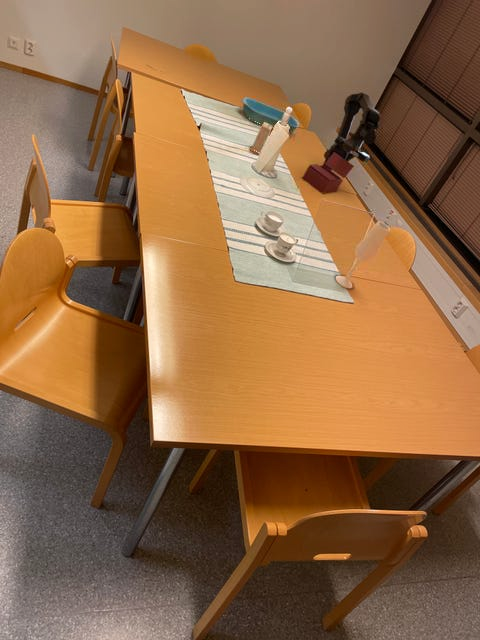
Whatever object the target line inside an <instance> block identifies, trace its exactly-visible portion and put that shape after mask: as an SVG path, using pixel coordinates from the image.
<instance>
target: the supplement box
mask: <svg viewBox="0 0 480 640" xmlns="http://www.w3.org/2000/svg"><path fill="white" fill-rule="evenodd" d="M272 127H273V126H272V125H270V124H268V123H266V122H264V123H263V124H262V125H260V129H259V131H258V133H257V135H256V136H255V137H256V138H255V140H254V142H253V144H252V146H251V148H250V152H252V153H254V154H256V155H260V154H261V151H262V150H263V148H264V146H265V144H266V142H267V140H268V138H269V136H270V133H271V131H272V130H273V129H272ZM254 150H255V151H254ZM256 151H257V152H256ZM258 152H260V153H258Z"/></svg>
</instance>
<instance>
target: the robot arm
mask: <svg viewBox="0 0 480 640" xmlns="http://www.w3.org/2000/svg"><path fill="white" fill-rule="evenodd" d="M343 110H344V111H343V112H344V116H343V118H342V122H341V125H340V128H339V130H338V134H337V137H336V138H335V139H334V142H333V144H331V146H330V148H328V149H327V150H326V151H325V152H324V153H323V157H324V159H325V160H324V162H323V163H322V165H324V166H325V167H327V168H328V169H329V170H331V171H332V172H333V170H332V169H330V168H329V167H328V166H326V165H325V163H326V162H327V160H328V159H329V158H330V156H331V155H332V154H333V153H334V152H335V153H337V154H338V155H339V156H341V157H342V158H344V159H345V160H346V161H348V162H349V161H351V160H352V159H354V158H357V159H358V160H359V161H361V162H363V163H367V162H369V160H370V155H369V154H367V153H366V152H365V151H363V152H361V151H360V149H361V147H362V144H365V145H372V144H373V143H375V141H376V139H377V136H376V132H377V131H378V128H379V124H380V120H381V113H380V112H379V111H378V110H377V109H376V108H374V106H373V104H372V102H371V99H370V96H369V95H368V94H367V93H364V92H359V93H352V94H350V95H348V96H347V97H346V98H345V100H344V106H343ZM361 110H362V113H361V119H360V120H359V125H358V126H357V128H356V130H355V131H354V133H353V134H352V135H351V137H350V138H348V136H349V133H350V130H351V127H352V124H353V121H354V119H355V116H356V115H357V114H358V113H360V111H361ZM349 163H350V162H349Z"/></svg>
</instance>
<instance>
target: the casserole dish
mask: <svg viewBox="0 0 480 640" xmlns="http://www.w3.org/2000/svg"><path fill="white" fill-rule="evenodd" d="M241 102H242V104H243V105H242V110H243V113H244V114H245V116H246V118H247V119H248V120H249V121H250V122H252V123H254V124H256V125H259V126H262V124H263V123H264V122H266V123H268V124H270V125H272V126H273V127H274V125H275V124H276V123H277V122H278V121H279V120H281V119H282V116H283V114H284V112H285V111H284V110H281V109H279V108H276V107H273V106H271V105H268V104H266V103H263V102H261V101H258V100H256V99H254V98H251V97H244V98H243V99H241ZM249 118H250V119H249ZM273 118H274V119H273ZM276 119H277V120H276ZM255 121H256V122H255ZM257 122H258V123H257ZM259 123H260V124H259ZM288 125H289V126H290V129H289V134H288V135H291V134H292V133H294V132H295V131H296V130H297V129H298V127H299V126H300V122H299V121H298V120H297V119H296V118H294V117H293V116H292V115H291V116H290V119H289V121H288ZM271 130H273V128H272V129H271Z"/></svg>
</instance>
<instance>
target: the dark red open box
mask: <svg viewBox="0 0 480 640" xmlns="http://www.w3.org/2000/svg"><path fill="white" fill-rule="evenodd" d="M321 174H322V175H323V176H324V177H323V176H322V175H321ZM325 177H326V178H327V179H328V180H327V179H326V178H325ZM302 179H303V180H304V181H305V182H307V183H308V184H310V185H311V186H312V187H314V189H316V190H317V191H319V192H320V193H321V194H326V193H334V192H337V191H338V189H339V188H340V186H341V184H342V183H343V181H344V178H343V177H341V176H340V175H339V174H337V173H336V172H335V171H333V170H332V171H331V170H329V169H328V168H327V167H325V166H324V165H323V164H322V165H321V164H320V165H319V164H317V163H312V164H309V165H308V166H307V168H306V170H305V172H304V174H303V176H302Z"/></svg>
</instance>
